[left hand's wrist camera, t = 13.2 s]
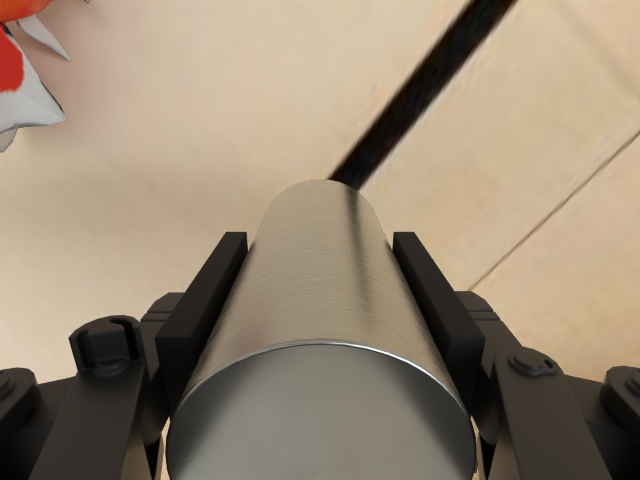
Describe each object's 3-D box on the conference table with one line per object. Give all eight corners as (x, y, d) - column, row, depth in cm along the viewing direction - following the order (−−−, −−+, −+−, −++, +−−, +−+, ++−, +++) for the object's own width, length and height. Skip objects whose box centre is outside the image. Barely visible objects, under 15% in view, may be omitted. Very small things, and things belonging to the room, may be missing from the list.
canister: (244, 196, 17) (108, 382, 6) (365, 164, 16) (456, 305, 5) (281, 301, 19) (227, 585, 8) (389, 275, 18) (493, 541, 7)
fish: (186, -1, 20) (-51, -39, 13) (113, 168, 30) (-44, 204, 23) (72, -156, 21) (-227, -284, 13) (37, 63, 31) (-144, 63, 23)
